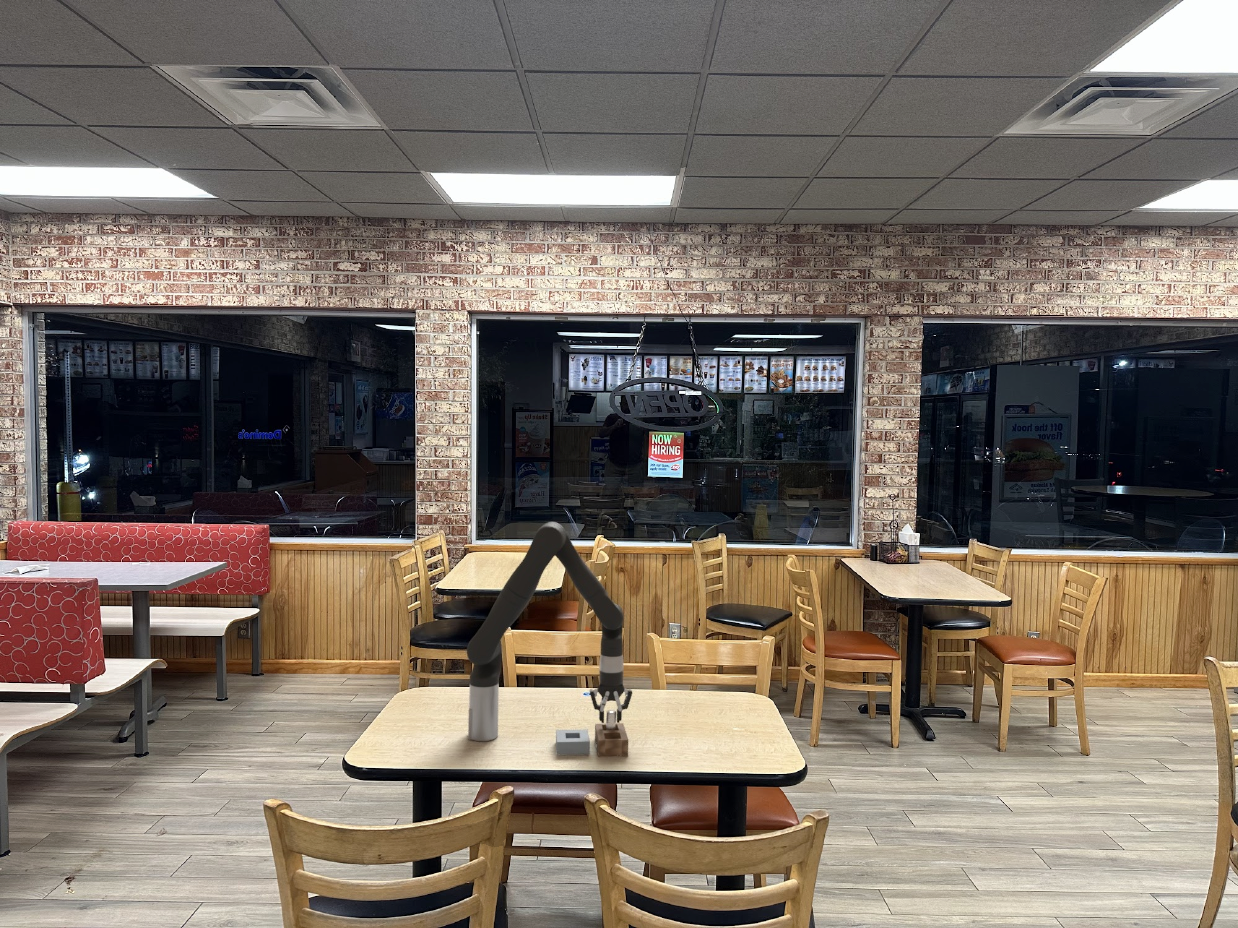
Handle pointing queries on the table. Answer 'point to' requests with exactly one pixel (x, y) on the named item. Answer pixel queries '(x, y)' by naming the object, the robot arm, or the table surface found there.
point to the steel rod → (611, 720)
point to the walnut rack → (611, 740)
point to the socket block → (572, 742)
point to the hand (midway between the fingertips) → (610, 721)
